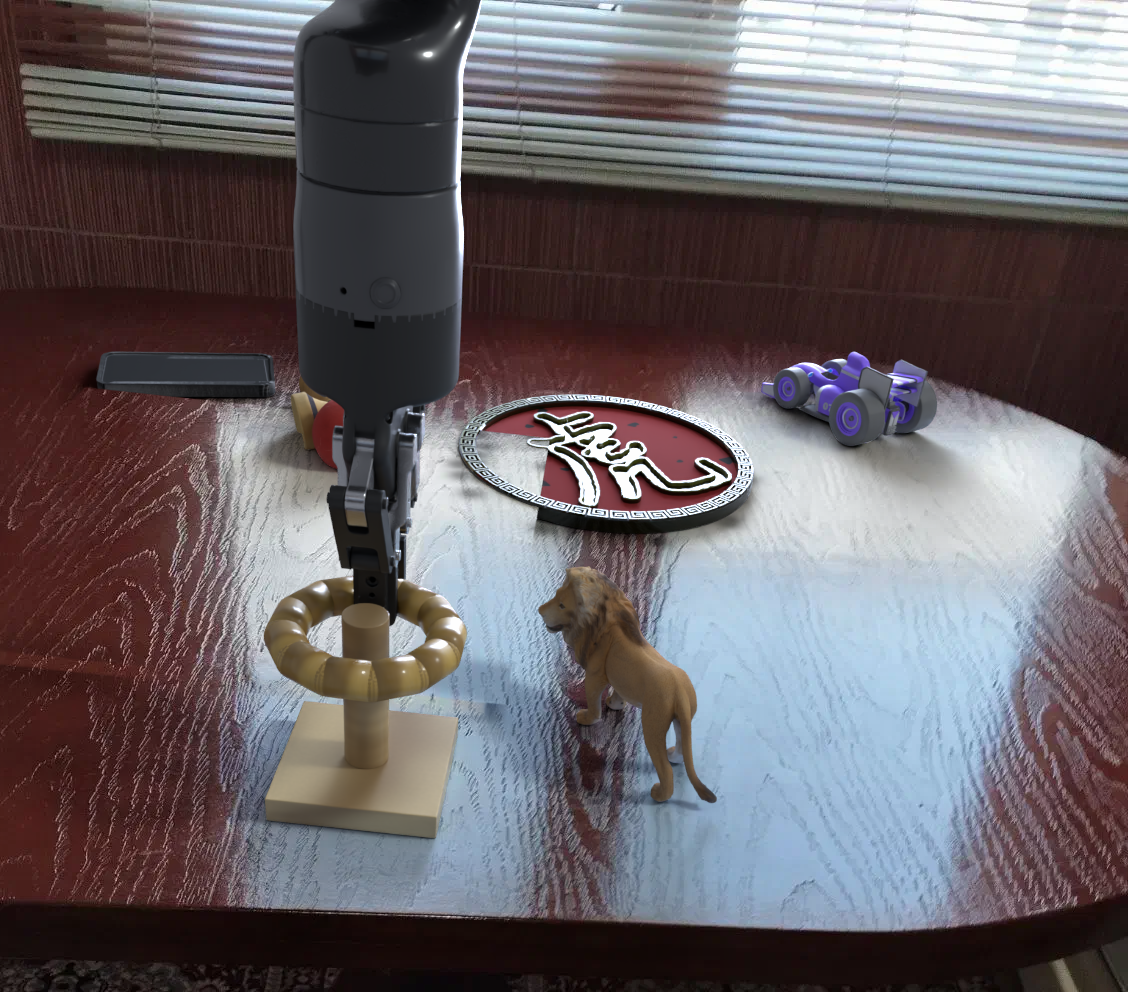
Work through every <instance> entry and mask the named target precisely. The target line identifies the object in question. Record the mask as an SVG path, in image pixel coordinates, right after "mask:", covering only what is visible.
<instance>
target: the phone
mask: <svg viewBox="0 0 1128 992" xmlns="http://www.w3.org/2000/svg"><path fill="white" fill-rule="evenodd" d="M274 366H275V365H274V358H273V356H272V355H270V354H267V353H257V352H255V353H254V352H253V353H250V352H249V353H248V352H247V353H246V352H180V351H179V352H178V351H177V352H175V351H174V352H172V351H171V352H170V351H169V352H168V351H107V352H104V353H103V354H101V356H100V360H99V365H98V370H97V374H96V386H97V389H99V390H107V391H117V392H125V393H126V392H127V393H134V394H144V395H152V396H153V395H154V396H162V397H170V398H269V397H271V396H274V395H275V394H276V379H275V367H274Z"/></svg>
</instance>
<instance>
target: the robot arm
mask: <svg viewBox="0 0 1128 992" xmlns="http://www.w3.org/2000/svg"><path fill="white" fill-rule="evenodd" d="M482 1H483V0H334V2H332V3H331V4H330V5H329V6H328V7H326V8H324V10H322V11H321V12H319V13H318V14H316V15H315V16H313V17H312V18H311V19H310V20H308V21H307V22H306V23H305V24H304V25H303V26H302V28H301V29H300V31H299V33H298V35H297V37H296V40H295V46H294V51H293V64H292V65H293V66H292V67H293V68H292V69H293V70H292V74H293V76H292V81H293V82H292V83H293V85H292V87H293V88H292V89H293V100H294V101H293V115H294V140H295V142H294V144H295V164H296V165H295V167H296V187H295V199H294V209H293V223H292V227H293V229H292V231H293V234H292V235H293V259H294V278H295V279H294V280H295V306H296V328H297V329H296V330H297V351H298V353H297V354H298V355H297V356H298V370H299V374H300V375H299V376H301V377H302V379H303V381H304V382H305V384H306V385H307V386H308V387H309V388H310V389H311V390H313V391H314V392H316V393H317V394H319V395H321V396H323V397H328V398H329V399H331V400H333V401H334V402H336V403H337V404H339V405H340V406H341V407H342V408H343V409H344V414H343V426H335V427H334V430H333V437H332V458H333V461H334V463H335V464H336V466H337V468H338V469H337V484H331V485H330V487H329V489H328V492H327V494H326V503H327V507H328V513H329V516H330V521H331V526H332V531H333V536H334V541H335V545H336V550H337V555H338V561H339V565H340V568H341V569H343V570H344V569H345V570H352V576H353V594H354V604H360V603H370V604H376V605H379V606H381V607H383V608H385V609H386V610H387V611H388V613H389V616H390V625H389V627H392V626H394V624H395V622H396V620H397V617H398V616H397V605H398V579H405V580H407V535H409V533H410V529H412V526H413V518H412V517H411V509H414V508H415V505H416V502H418V495H419V494H418V490H419V487H420V483H421V449H422V446H423V442H424V439H425V436H426V415H425V413H424V412H425V411H426V405H429V404H432V403H435V402H437V401H440V400H442V399H444V398H445V397H446V396H448V395H449V394H450V393H451V392H452V391H454V389H455V388H456V387H457V384H458V380H459V378H460V355H461V354H460V353H461V332H462V331H461V330H462V329H461V327H462V305H463V304H462V301H463V299H462V298H463V276H464V275H463V273H464V272H463V270H464V249H465V248H464V247H465V245H464V244H465V243H464V241H465V240H464V239H465V238H464V237H465V235H464V234H465V232H464V218H463V210H462V209H463V207H462V197H461V196H462V195H461V166H462V165H461V164H462V140H463V139H462V137H463V136H462V135H463V110H464V109H463V106H464V105H463V104H464V101H463V100H464V89H463V83H464V81H463V80H464V71H465V65H466V61H467V57H468V53H469V49H470V46H471V44H472V40H473V37H474V33H475V29H476V26H477V22H478V19H479V15H480V11H481V5H482Z"/></svg>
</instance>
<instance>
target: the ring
mask: <svg viewBox="0 0 1128 992" xmlns="http://www.w3.org/2000/svg"><path fill="white" fill-rule="evenodd" d="M351 605H354V594H353V575H347V576H340V577H332V578H326V579H320V580H316V581H314V582H312V583H310V584H308V585H306V586H304V587H302V588H301V589H298V590H296V591H295V592H293V593H291V594H289V595H287V596H285V597H284V598H282V599H281V600H280V601H279V602H278V603H277V605H276V607H275V609H274V610H273V613H272V614H271V616H270V618H269V621H268V622H267V624H266V626H265V628H264V631H263V642H264V644H265V647H266V650H267V651H268V653H269V655H270V657H271V659H272V661H273V664H274V665H275V667H276V669H277V671H278V672H279V674H281V675H282V676H283V677H284V678H286V679H288V680H290V681H292V682H293V683H296V684H297V685H299V686H301V687H302V688H305V689H307V690H309V691H311V692H313V693H314V694H316V695H318V696H321V697H325V698H331V699H333V698H334V699H340V700H343V699H347V700H355V701H363V702H378V701H384V700H389V701H390V700H393V699H394V700H395V699H399V698H404V697H410V696H416V695H420V694H422V693H424V692H426V691H427V690H428V689H429V690H430V688H432V687H433V686H435V685H437V684H438V683H439V682H441V681H443V680H444V679H445V678H447V677H448V676H450V675H451V674H453V673H454V672H455V671H456V670H457V669H458V668H459V666H460V664H461V660H462V658H463V657H462V656H463V653H464V649H465V646H466V642H467V638H468V629H467V626H466V625H465V624H466V623H465V622H464V621H463V620H462V618H461V617H460V615H459V614H458V613H457V611H456V610H455V609H454V607H453V606H452V604H451V603H450V601H449V600H448V599H447V598H446V597H445V596H444V595H441V594H439V593H437V592H435V591H433V590H430V589H429V588H427V587H424V586H422V585H419V584H418V583H415V582H413V581H411V580H408V579H406V580H405V579H398V605H397V617H398V618H400V619H403V620H405V621H406V622H408V623H411V624H412V625H414V626H417V627H419V628H420V629H421V630H422V632H423V634H424V635H425V636H426V637H425V638H424V639H425V640H424V643H422V644H420V645H419V646H417V647H416V648H414V649H413V650H411V651H409V652H408V653H406V654H403V655H397V656H391V657H390V656H389V658H385V659H379V660H373V661H367V660H359V659H351V658H343V657H342V656H334V655H333V654H331V653H328V652H327V651H325V650H323V649H320V648H318V647H316V646H315V645H313V644H312V643H311V642H310V640H309V639H308V634H309V632H310V630H311V629H313V628H314V627H316V626H317V625H319V624H321V623H322V622H325V621H326V620H328V619H330V618H334V617H339V616H340V617H341V615H342V612H343V611H344V609H346V608H347V607H349V606H351Z"/></svg>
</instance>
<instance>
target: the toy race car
mask: <svg viewBox="0 0 1128 992" xmlns="http://www.w3.org/2000/svg"><path fill="white" fill-rule="evenodd" d="M928 373H929V371H927V370H926V369H924V368H921V367H919V366H916V365H914V364H912V363H910V362H908V361H906V360H903V359H899V360H897V361H896V362H894V366H893V370H892V373H887V374H885V373H883V372H880V371H879V370H877V369H874V368H872V367H871V364H870V361H869V360H868V358H867V357H866V356H864V355H862V354H860V353H858V352H856V351H852V352H850V353H849V354H848V356H847V360H846V359H843V358H836V359H832V360H828V361H825V362H824V363H823V364H822V365H818V364H816V363H812V362H801V363H798V364H794V365H792V366H790V367H789V368H784V369H781V370H779V372H778V373H776V375H775V377H774V380H773V383H772V382H771V383H770V382H762V384H761V390H760V393H762V394H763V395H765V396H767V397H769V398H772V399H775V401H776V402H777V404H778V406H780V407H782V408H784V409H786V410H787V409H794V408H798V409H799V410H801V411H802V412H804V413H806V414H808V415H810V416H812V417H814V418H816V419H819V420H821V421H822V420H823V421H824V422H827V423H829V427H830V430H831V433H832V435H833V437H834V438H835V439H836V440H837V441H838V442H839V443H840V444H842V445H844V446H848V447H855V446H857V445H859V446H860V445H862V444H863V445H864V444H867V443H870V442H872V441H874V440H876V439H877V438H878V437H879V436H881V435H882V436H885V437H886V436H890V435H893V434H895V433H899V434H907V433H912V432H916V431H920V430H923V429H926V428H927V427H928V426H930V424H932V422H933V420H934V419H935V417H936V414H937V410H938V397H937V393H936V391H935V389H934V388H933V386H932V384H930V382H929V381H927V376H928ZM813 394H814V397H815V403H811V404H806V403H807V402H808V400H809V398H810V395H813Z"/></svg>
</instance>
